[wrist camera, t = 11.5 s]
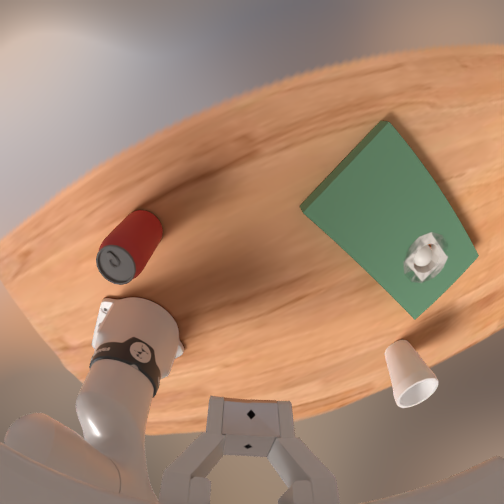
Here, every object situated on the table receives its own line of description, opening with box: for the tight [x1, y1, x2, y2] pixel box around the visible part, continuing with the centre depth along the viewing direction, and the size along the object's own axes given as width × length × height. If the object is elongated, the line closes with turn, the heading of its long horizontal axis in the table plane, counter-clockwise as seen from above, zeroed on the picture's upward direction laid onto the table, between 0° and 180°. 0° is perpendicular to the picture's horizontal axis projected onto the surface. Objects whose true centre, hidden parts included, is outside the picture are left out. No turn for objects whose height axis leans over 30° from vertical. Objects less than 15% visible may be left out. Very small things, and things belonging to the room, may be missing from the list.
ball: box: [414, 245, 432, 266], centre depth 45 cm, size 4×4×4 cm
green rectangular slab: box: [300, 121, 479, 319], centre depth 43 cm, size 18×32×3 cm, turn 50°
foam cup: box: [385, 340, 438, 408], centre depth 52 cm, size 10×9×13 cm
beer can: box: [96, 210, 163, 285], centre depth 39 cm, size 7×7×12 cm
